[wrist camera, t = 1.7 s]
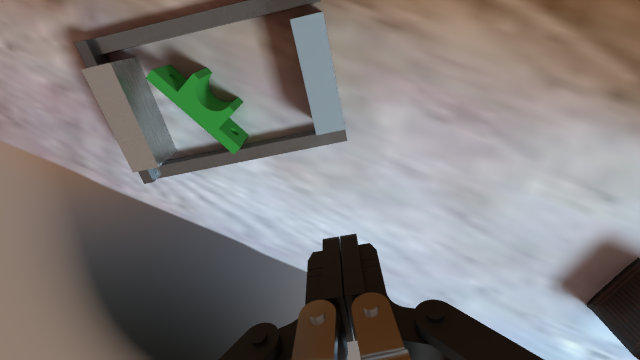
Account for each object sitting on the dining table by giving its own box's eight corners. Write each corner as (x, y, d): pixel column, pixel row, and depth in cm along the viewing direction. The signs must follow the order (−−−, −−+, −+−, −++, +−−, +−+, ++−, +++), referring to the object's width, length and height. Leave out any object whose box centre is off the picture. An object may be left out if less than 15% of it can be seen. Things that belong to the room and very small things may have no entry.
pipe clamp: (263, 119, 39) (256, 131, 35) (242, 140, 40) (234, 155, 36) (184, 45, 36) (166, 50, 32) (164, 71, 37) (144, 78, 33)
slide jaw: (294, 19, 34) (289, 19, 30) (322, 12, 34) (322, 11, 29) (317, 121, 39) (316, 135, 34) (342, 116, 39) (345, 129, 34)
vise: (89, 41, 35) (55, 44, 31) (317, -16, 33) (316, -21, 28) (153, 175, 42) (133, 194, 38) (346, 136, 40) (349, 151, 35)
